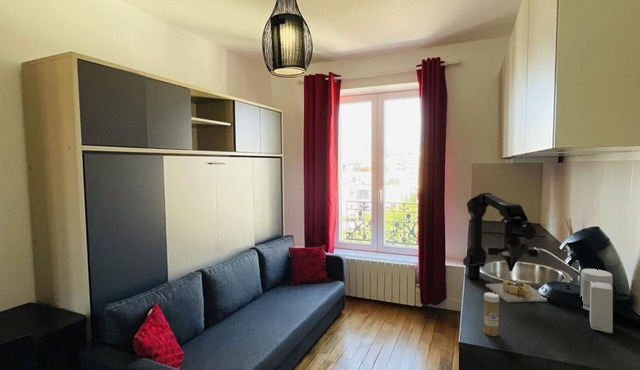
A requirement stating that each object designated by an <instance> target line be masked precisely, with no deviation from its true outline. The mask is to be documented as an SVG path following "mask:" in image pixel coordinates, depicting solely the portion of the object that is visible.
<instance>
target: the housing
mask: <svg viewBox="0 0 640 370" xmlns="http://www.w3.org/2000/svg"><path fill="white" fill-rule="evenodd" d="M511 282H512V285H514V286H519V288H520V287H521V283H518V282H514V281H511ZM524 284H526V283H525V282H524ZM485 287H486V288H487V289H488V288H489V291H491V290H492V291H491V292H492V293H496V294H497V295H499V298H501V299H502V300H504V301H506V302H507V303H526V302H527V303H528V302H529V303H530V302H534V303H537V302H548V301H547V298H545V297H543V296H541V295H540V294H539V292H540V291H539V290H537V289H535V288H533V287H532V286H530V290H531V291H532V298H526V297H524V296H523V295H521V294H520V295H519V294H514V293H510V292H507V291H505V290H504V289H503V283H485Z"/></svg>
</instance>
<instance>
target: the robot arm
mask: <svg viewBox="0 0 640 370" xmlns="http://www.w3.org/2000/svg"><path fill="white" fill-rule="evenodd" d="M489 206H490V207H492V208H494V209H496V210H497V211H498V214H499V215H500V216H502V219H501V220H500V222H501V223H503V235H502V238H503V239H502V240H503V242H502V243H503V244H502V247H498V246H496V245H489V244H488V245H485V248H483V217H484V216H485V214H486V213H487V208H488V207H489ZM466 207H467V212H468V214H469V215H470V219H471V220H470V246H469V248H467V250H466V255H465V257H464V259H463V260H462V264H463V266H464V267H467V268H466V269H467V274H464V276H465V277H466V278H467V279H469V280H470V281H472V280H475V281H476V280H477V281H478V280H479V281H480V280H481V281H482V280H484V278H483V277H482V276H481V267H485V265H486V262H487V261H486V260H487V255H489V256H497V255H500V256H501V257H502V258H504V260H505V263H506V265H507V269H508V271H509V272H513V269H514V268H515V266H516V264H517V262H518V260H519V259H523V256H524V255H528V256H529V257H530V258H531V257H532V258H539V251H538V249H536V248H534V247H533V246H529V244H528V243H521V238H522V239H525V240H530V241H531V240H533V239H534V238H535V237H536V235H537V230H536V228H535V226H533V225H532V222H531V221H529V220H528V216H527V214H526V212H525V211H524V209H523V206H522V205H521V204H519V203H515V202H509V201H505V200H503V199H502V198H500V197H498V196H496V195H494V194H493V193H491V192H481V193H479V194H478V195H476V196H474V197H472V198H471V199H469V200H468V201H467V203H466Z"/></svg>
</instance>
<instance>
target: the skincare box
mask: <svg viewBox="0 0 640 370" xmlns="http://www.w3.org/2000/svg"><path fill="white" fill-rule="evenodd" d="M613 293H614V289H613V285H612V286H611V284H608V283H600V282H592V281H591V282H590V311H589V323H590V324H589V325H590V328H591V329H592V330H595V331H601V332H604V333H607V334H613V333H614V331H613V329H614V328H613V325H614V324H613V323H614V321H613V318H614V316H613V314H614V312H613V311H614V308H613V305H614V303H613V301H614V299H613V296H614V295H613Z"/></svg>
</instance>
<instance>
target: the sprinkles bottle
mask: <svg viewBox="0 0 640 370" xmlns="http://www.w3.org/2000/svg"><path fill="white" fill-rule="evenodd" d="M483 300H484V303H483V304H484V305H483V306H484V307H483V330H482V331H483V333H484V334H485V335H487V336H492V337H496V336H499V315H500V314H499V302H500V296H499V295H497V294H495V293H494V292H485V293H483Z"/></svg>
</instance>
